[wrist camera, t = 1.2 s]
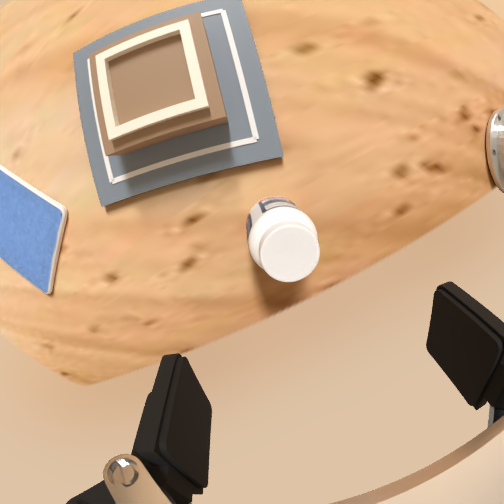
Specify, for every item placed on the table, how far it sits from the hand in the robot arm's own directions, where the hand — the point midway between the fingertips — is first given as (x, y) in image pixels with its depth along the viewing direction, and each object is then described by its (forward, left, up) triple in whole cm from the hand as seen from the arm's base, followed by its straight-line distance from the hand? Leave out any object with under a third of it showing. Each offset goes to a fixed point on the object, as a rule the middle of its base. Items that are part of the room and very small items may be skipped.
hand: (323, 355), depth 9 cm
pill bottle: (0, 0, -19) cm, 19 cm away
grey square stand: (+7, -15, -18) cm, 25 cm away
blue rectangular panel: (+32, -9, -19) cm, 38 cm away
